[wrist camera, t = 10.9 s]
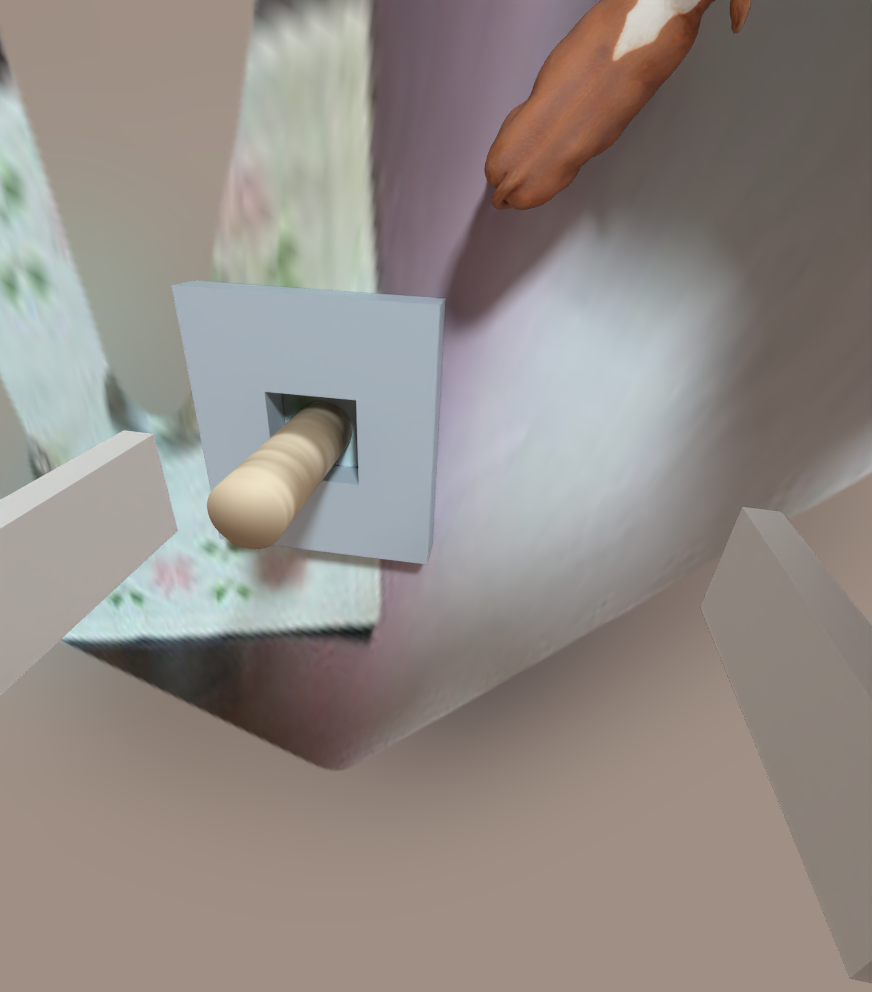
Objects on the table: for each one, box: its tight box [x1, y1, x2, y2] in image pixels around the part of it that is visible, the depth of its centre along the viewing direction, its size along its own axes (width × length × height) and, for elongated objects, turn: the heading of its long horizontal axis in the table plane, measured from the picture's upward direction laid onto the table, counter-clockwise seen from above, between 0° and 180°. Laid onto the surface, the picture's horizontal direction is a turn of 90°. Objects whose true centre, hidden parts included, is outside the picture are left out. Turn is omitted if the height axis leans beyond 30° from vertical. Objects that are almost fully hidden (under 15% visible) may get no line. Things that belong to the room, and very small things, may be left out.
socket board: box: [172, 281, 446, 565], centre depth 35 cm, size 18×16×2 cm
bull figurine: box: [485, 0, 751, 210], centre depth 22 cm, size 4×13×8 cm, turn 130°
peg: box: [207, 401, 352, 549], centre depth 31 cm, size 4×4×12 cm
